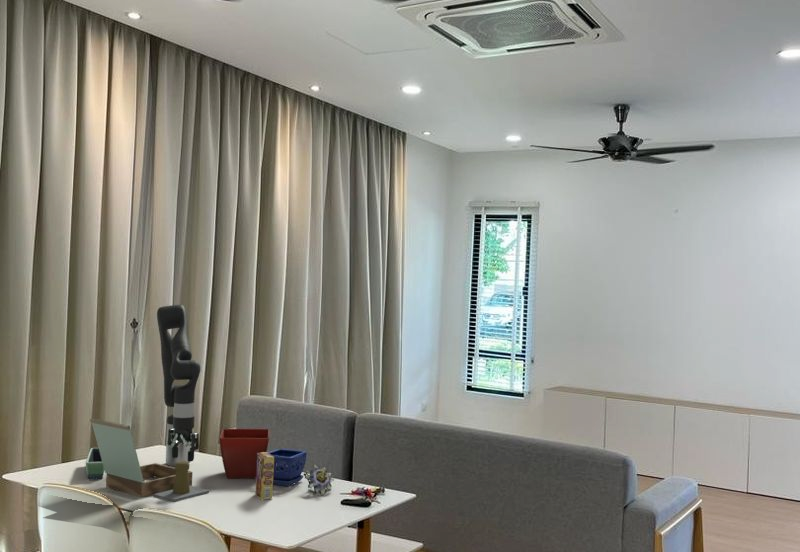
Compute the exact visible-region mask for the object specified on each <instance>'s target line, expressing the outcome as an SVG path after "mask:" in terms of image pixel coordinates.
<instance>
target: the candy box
mask: <svg viewBox="0 0 800 552" xmlns="http://www.w3.org/2000/svg"><path fill="white" fill-rule="evenodd" d="M273 471H274V457H273V456H272V455H271V454H269V453H268V451H267V452H261V453H257V469H256V478H255V495H256V496H257V497H258V498H259V499H260V500H262V499H267V500H272V499H273V488H274V485H273ZM271 498H272V499H271ZM262 501H263V500H262Z"/></svg>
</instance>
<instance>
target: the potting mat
mask: <svg viewBox="0 0 800 552" xmlns="http://www.w3.org/2000/svg"><path fill="white" fill-rule="evenodd" d="M189 488H190V492H189V493H187V494H174V493H173V490H169V491H165V492H161V493H157V494H154V495H153V497H155V498H158V499H159V498H160V499H161V500H166V501H170V502H173V503H176V502H179V501H182V500H187V499H191V498H194V497H197V496H201V495H206V494H209V493H210V489H205V488H201V487H196V486H193V485H189Z"/></svg>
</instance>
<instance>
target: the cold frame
mask: <svg viewBox="0 0 800 552" xmlns="http://www.w3.org/2000/svg"><path fill="white" fill-rule="evenodd" d="M140 468H141V472H142V476H143V480H146V479H151V478H156V479H152V480H147V481H144V482H143V483H142V482H138V481H134V480H130V479H126V478H122V477H119V476H115V475H111V474H107V473H105V474H106V475H105V476H106V479H105V483H106V484H105V487H106V488H108V489H109V488H110V489H112V488H113V490H116V491H119V492H120V491H121V492H124V493H128V494H131V495H133V496H134V495H135V496H138V497H141V498H146V497H150V496H154V494H157V493H161V492H165V491H169V490H173V488H174V482H175V476H176V470H175V466H170V465H166V464H161V463H157V462H155V463H149V464H144V465H140ZM188 478H189V485H190V486H193V471H190V470H188Z"/></svg>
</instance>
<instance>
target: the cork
mask: <svg viewBox="0 0 800 552" xmlns="http://www.w3.org/2000/svg"><path fill="white" fill-rule="evenodd" d="M190 466H191V465H190V463H188V462H186V461H180V462H177V463H176V464H175V466H174V468H175V470H176V476H175V482H174V488H173V493H174V494H187V493H189V492H190V488H189V478H188V471H190Z"/></svg>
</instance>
